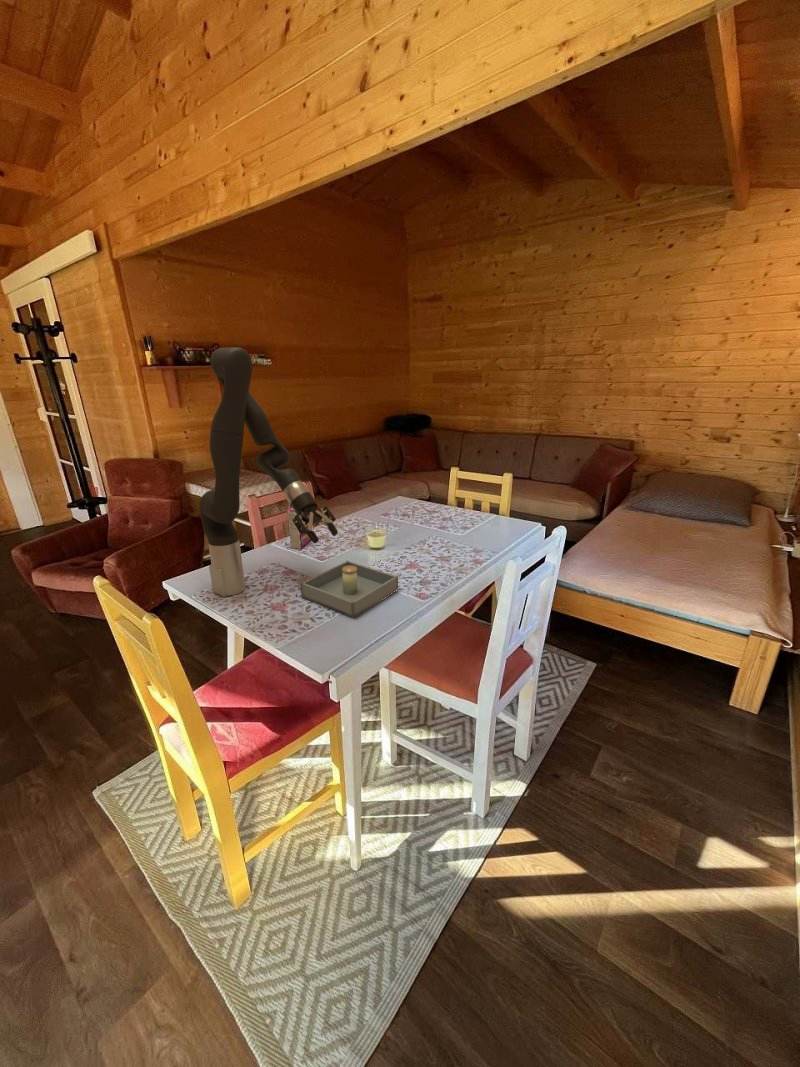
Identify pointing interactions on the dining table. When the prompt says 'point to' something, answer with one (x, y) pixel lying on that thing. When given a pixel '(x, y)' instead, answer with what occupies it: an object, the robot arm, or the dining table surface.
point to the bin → (330, 594)
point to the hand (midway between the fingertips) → (326, 538)
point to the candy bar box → (296, 532)
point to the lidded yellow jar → (349, 579)
